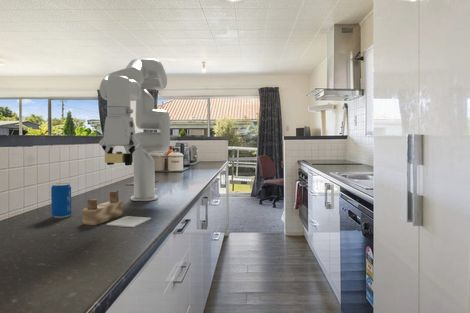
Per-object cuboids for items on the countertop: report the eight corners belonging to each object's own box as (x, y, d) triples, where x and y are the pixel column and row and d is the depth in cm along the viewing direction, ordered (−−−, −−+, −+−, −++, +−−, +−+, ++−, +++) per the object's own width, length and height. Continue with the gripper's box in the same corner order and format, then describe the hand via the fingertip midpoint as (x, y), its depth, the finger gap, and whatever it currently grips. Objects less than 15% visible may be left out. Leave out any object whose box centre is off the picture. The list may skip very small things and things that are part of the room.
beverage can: (63, 219, 119) (62, 185, 118) (47, 218, 120) (46, 184, 119) (75, 215, 125) (74, 183, 125) (60, 214, 126) (59, 182, 126)
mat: (126, 217, 123) (126, 215, 123) (151, 218, 120) (151, 217, 120) (106, 225, 111) (106, 224, 111) (133, 227, 109) (133, 226, 109)
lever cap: (117, 161, 120) (117, 151, 120) (133, 161, 118) (133, 151, 118) (104, 162, 113) (104, 151, 113) (121, 163, 112) (121, 152, 111)
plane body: (111, 213, 128) (111, 190, 127) (122, 214, 127) (122, 191, 126) (82, 224, 112) (82, 197, 112) (95, 225, 111) (94, 198, 111)
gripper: (147, 113, 116) (147, 164, 117) (104, 114, 121) (105, 163, 122) (134, 111, 109) (135, 166, 110) (90, 112, 114) (91, 165, 115)
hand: (119, 164), depth 116 cm, fingers closed on lever cap, 6 cm apart
